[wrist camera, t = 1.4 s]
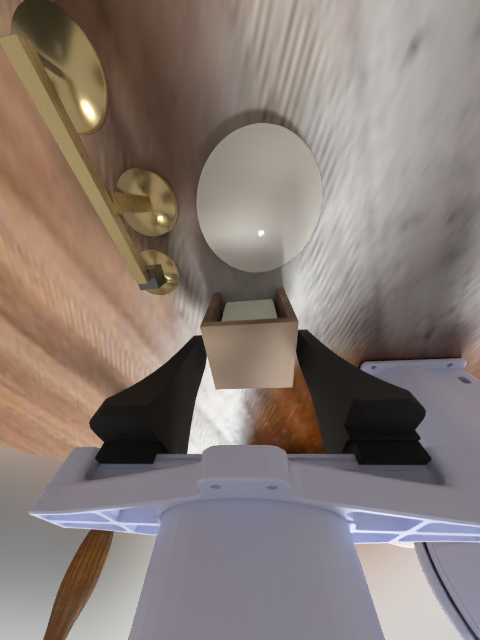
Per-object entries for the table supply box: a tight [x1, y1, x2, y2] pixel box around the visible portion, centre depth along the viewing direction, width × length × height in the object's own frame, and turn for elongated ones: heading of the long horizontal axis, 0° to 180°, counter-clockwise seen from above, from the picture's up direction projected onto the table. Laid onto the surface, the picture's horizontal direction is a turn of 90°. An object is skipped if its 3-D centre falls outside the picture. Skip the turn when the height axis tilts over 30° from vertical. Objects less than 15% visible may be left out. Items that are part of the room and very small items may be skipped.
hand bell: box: [43, 529, 114, 640], centre depth 19 cm, size 8×8×16 cm
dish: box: [196, 123, 323, 273], centre depth 11 cm, size 8×8×1 cm
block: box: [222, 299, 277, 321], centre depth 15 cm, size 4×4×4 cm
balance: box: [0, 0, 179, 295], centre depth 9 cm, size 4×11×6 cm, turn 6°
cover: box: [200, 288, 298, 389], centre depth 14 cm, size 6×6×5 cm
